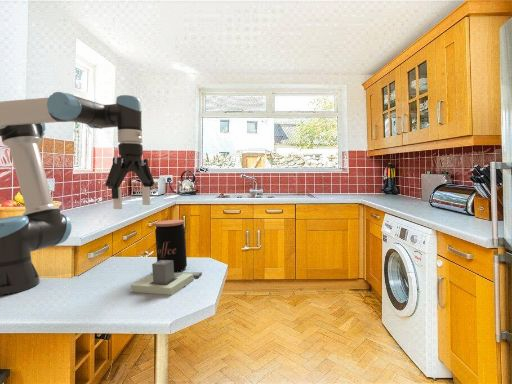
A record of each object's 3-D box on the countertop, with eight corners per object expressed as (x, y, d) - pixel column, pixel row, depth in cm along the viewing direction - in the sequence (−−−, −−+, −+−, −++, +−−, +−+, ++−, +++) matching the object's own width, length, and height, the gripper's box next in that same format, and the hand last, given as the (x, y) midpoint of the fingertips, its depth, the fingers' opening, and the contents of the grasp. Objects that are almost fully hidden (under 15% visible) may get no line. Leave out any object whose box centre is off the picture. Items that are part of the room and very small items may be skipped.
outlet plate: (131, 291, 90) (131, 284, 90) (157, 277, 102) (157, 271, 102) (171, 294, 86) (171, 287, 85) (193, 279, 98) (193, 273, 98)
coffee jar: (151, 272, 108) (148, 223, 108) (172, 264, 118) (169, 219, 117) (173, 275, 103) (170, 224, 103) (193, 266, 113) (190, 220, 112)
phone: (178, 278, 100) (178, 275, 100) (182, 274, 104) (182, 272, 104) (198, 277, 99) (198, 275, 99) (201, 274, 103) (201, 272, 103)
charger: (153, 289, 91) (152, 263, 90) (162, 284, 95) (161, 259, 94) (166, 290, 89) (164, 264, 89) (174, 285, 93) (173, 260, 93)
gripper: (110, 138, 86) (113, 211, 87) (162, 146, 110) (164, 203, 111) (90, 140, 88) (93, 210, 90) (146, 147, 112) (148, 203, 113)
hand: (133, 206), depth 100 cm, fingers open, 13 cm apart
